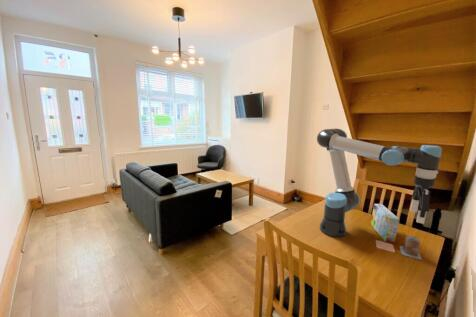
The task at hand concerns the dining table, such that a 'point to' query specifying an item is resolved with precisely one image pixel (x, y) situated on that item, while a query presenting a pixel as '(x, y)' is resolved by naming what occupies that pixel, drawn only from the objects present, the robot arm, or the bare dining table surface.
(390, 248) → the terracotta tile
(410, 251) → the block
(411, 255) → the slate tile
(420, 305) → the dining table surface
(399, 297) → the dining table surface
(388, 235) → the snack box
